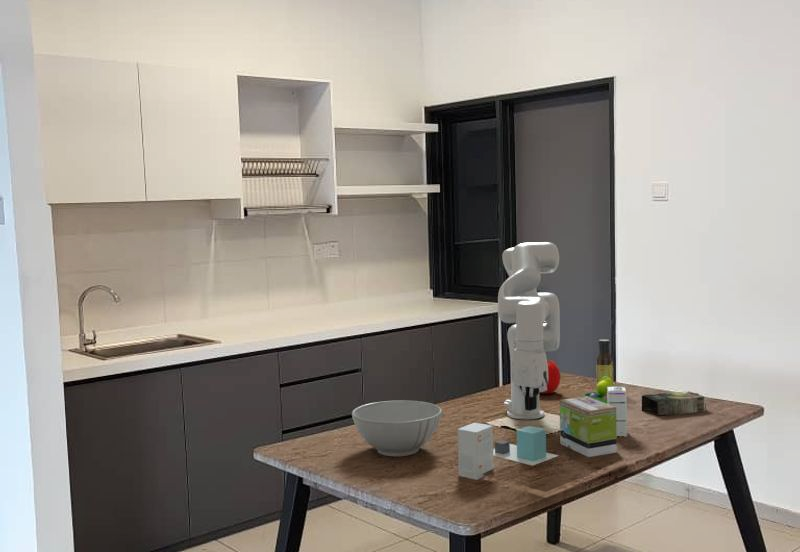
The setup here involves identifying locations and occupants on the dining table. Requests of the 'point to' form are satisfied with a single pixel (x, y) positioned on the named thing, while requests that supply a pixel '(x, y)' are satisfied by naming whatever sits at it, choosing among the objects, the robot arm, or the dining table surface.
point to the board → (515, 453)
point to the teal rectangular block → (531, 443)
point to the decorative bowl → (397, 425)
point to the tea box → (588, 426)
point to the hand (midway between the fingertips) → (530, 409)
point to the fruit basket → (601, 390)
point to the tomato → (552, 377)
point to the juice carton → (674, 403)
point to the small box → (475, 450)
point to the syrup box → (619, 408)
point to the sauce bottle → (604, 362)
